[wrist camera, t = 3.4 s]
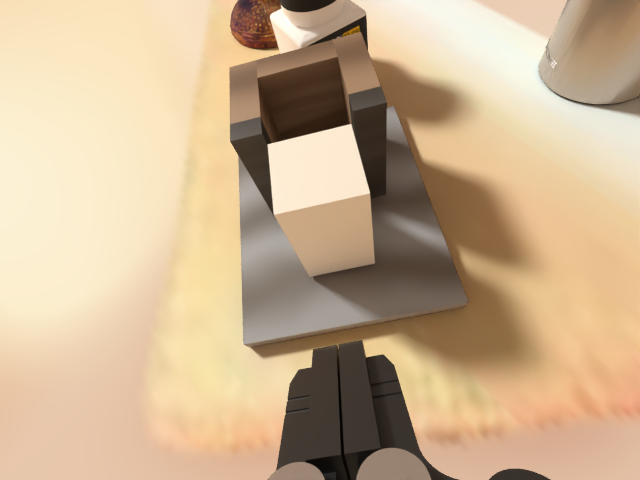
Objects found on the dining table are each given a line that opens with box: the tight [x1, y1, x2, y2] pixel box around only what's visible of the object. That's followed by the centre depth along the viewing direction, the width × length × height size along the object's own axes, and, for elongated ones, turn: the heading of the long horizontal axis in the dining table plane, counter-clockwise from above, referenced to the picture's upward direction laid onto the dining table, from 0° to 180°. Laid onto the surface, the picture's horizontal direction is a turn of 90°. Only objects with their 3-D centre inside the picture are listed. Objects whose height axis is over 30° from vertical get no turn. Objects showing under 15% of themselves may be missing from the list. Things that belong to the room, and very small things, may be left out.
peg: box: [268, 124, 375, 277], centre depth 21 cm, size 5×5×9 cm
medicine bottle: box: [270, 0, 368, 54], centre depth 32 cm, size 7×7×12 cm
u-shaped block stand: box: [230, 32, 468, 347], centre depth 24 cm, size 20×16×10 cm
